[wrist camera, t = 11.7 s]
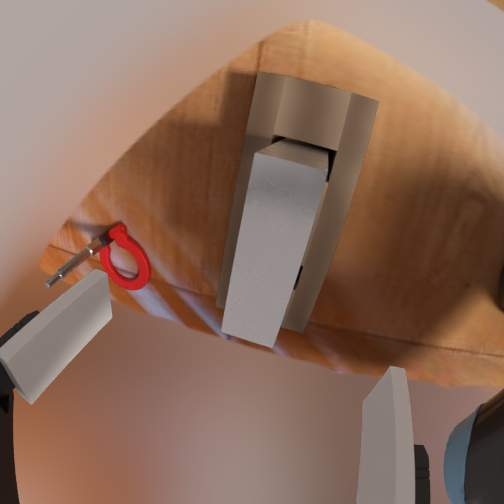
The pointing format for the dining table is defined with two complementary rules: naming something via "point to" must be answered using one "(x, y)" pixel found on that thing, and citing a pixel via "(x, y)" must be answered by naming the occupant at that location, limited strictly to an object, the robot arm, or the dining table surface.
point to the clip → (273, 237)
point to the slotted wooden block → (337, 181)
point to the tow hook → (103, 247)
